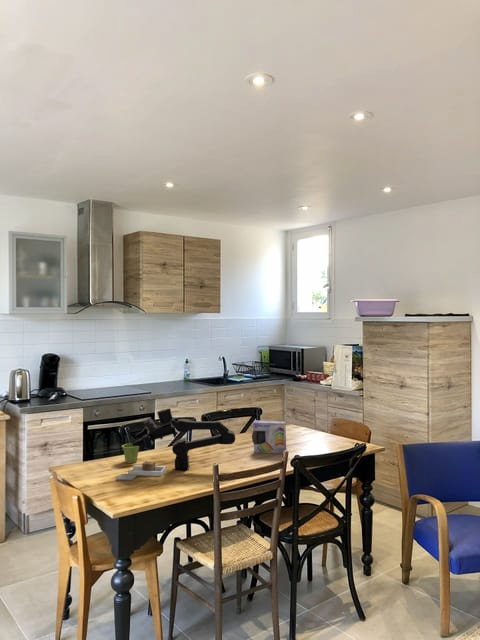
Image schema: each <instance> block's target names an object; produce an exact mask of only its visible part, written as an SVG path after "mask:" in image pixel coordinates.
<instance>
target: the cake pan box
mask: <svg viewBox="0 0 480 640" xmlns="http://www.w3.org/2000/svg"><path fill="white" fill-rule="evenodd" d="M252 426H253V427H252V428H253V429H252V433H251V440H252V442H253V443H252V444H253V452H254V453H258V452H259V453H260V454H261V453H263V454H280V455H281V454H283V451H284V450H287V434H286V433H287V432H286V421H278V420H277V421H276V420H257V419H255V420H254V421H253V422H252ZM259 453H258V454H259ZM283 455H284V454H283Z"/></svg>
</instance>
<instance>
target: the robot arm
mask: <svg viewBox="0 0 480 640" xmlns="http://www.w3.org/2000/svg"><path fill="white" fill-rule="evenodd" d="M156 414H157V418H158V420H159V423H160V424H156V423H155V421H154V420H153V419H152V417H148V418H147V419H145V420H144V423H143V424H144V428H143V430H142V431H140V432H138V433H137V434H135V435H134V436H133V437H134V439H138V440H135V441H134V442H131V443H132V445H133V446H139V448H140V447H141V448H145V449H147V450H148V449H152V448H153V445H154V442H155V441H156V440H164V439H163V438H165V437H168V436H173V438H174V439H175V438H176V436H177V435H178V434H179V433H185V432H190V431H193V430H195V431H196V430H198V431H200V430H204V431H205V430H216V431H217V432H218V434H217V435H214V436H212V435H211V436H209V437H203V438H199V439H193V440H187V438H186V437H184V438H181V439H177V440H176V441H175V442H174V443H173V445H172V448H171V450H172V453H173V454H174V455H175V459H174V470H175V471H189V468H190V467H191V465H190V455H189V451H191V450H195V449H200V448H204V447H210V446H215V445H232V444H234V443H235V441H236V434H235V432H234V431H233V430H231V429H229V428H228V427H227V426H225V425H224V424H223V423H222V421H220V420H216V421H215V420H208V421H207V420H206V421H205V420H200V421H198V420H195V421H194V420H191V419H186V418H177V417H173V414H172V409H171V408H170V407H169V408H165V409H164V408H163V409H160V410H158V411H156ZM161 424H162V425H161Z"/></svg>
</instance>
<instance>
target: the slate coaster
mask: <svg viewBox="0 0 480 640" xmlns="http://www.w3.org/2000/svg"><path fill="white" fill-rule="evenodd" d="M138 476H139V475H135V474H128V473H125V474H124V473H121V474H119V476H117V477H116V478H115V481H121V482H122V481H123V482H124V481H126V482H133V481H134V480H135V479H136V478H137V477H138Z"/></svg>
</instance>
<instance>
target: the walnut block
mask: <svg viewBox="0 0 480 640" xmlns="http://www.w3.org/2000/svg"><path fill="white" fill-rule="evenodd" d="M141 466H142V470H141V471H155V466H156V461H148V460H147V461H146V460H145V461H144V462H143V463H142V464H141Z"/></svg>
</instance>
